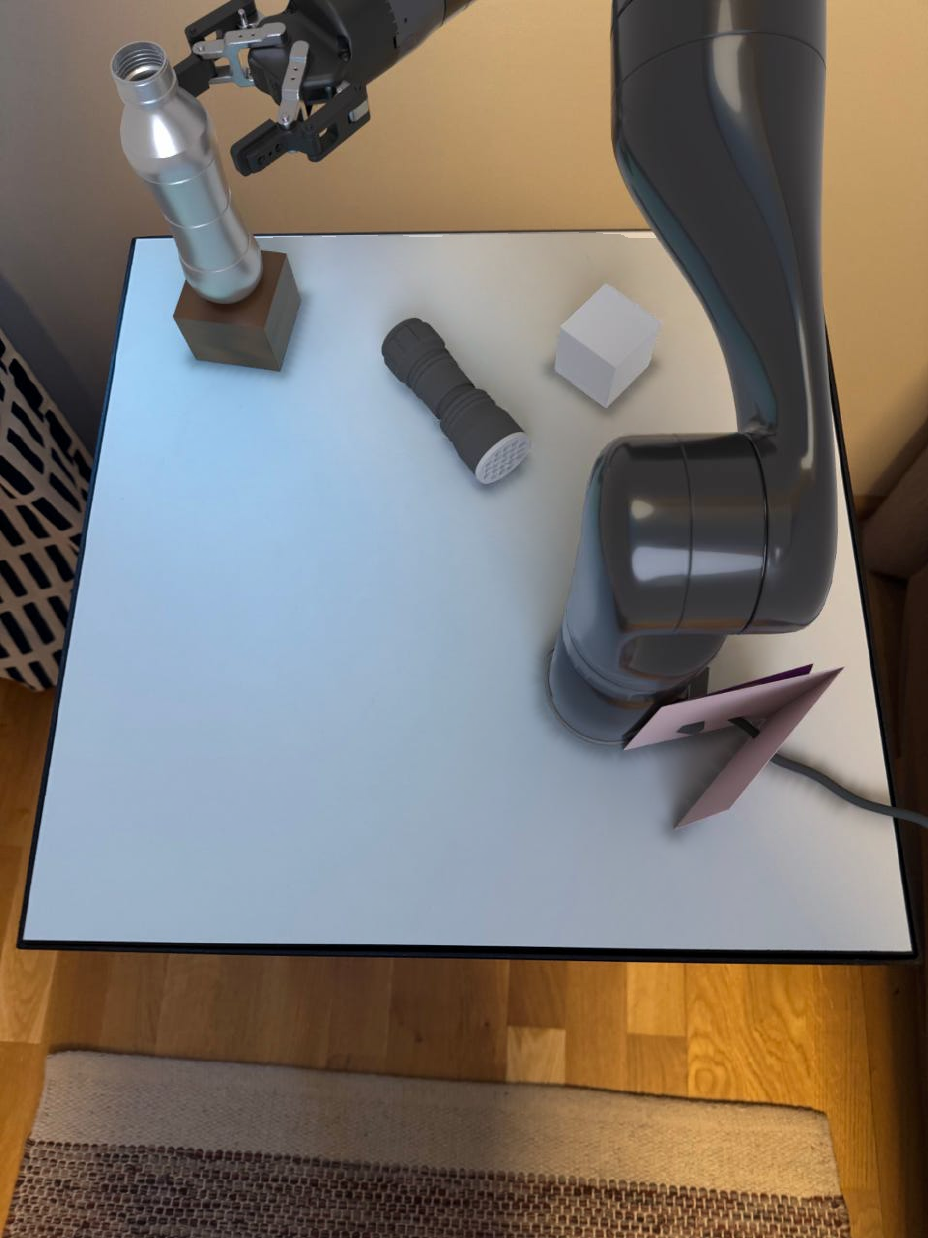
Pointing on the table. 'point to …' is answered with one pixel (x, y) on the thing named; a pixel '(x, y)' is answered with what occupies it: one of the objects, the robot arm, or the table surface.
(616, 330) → the white cube
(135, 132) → the silver metal bottle
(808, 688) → the greeting card
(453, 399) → the flashlight
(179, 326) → the block
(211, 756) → the table surface
